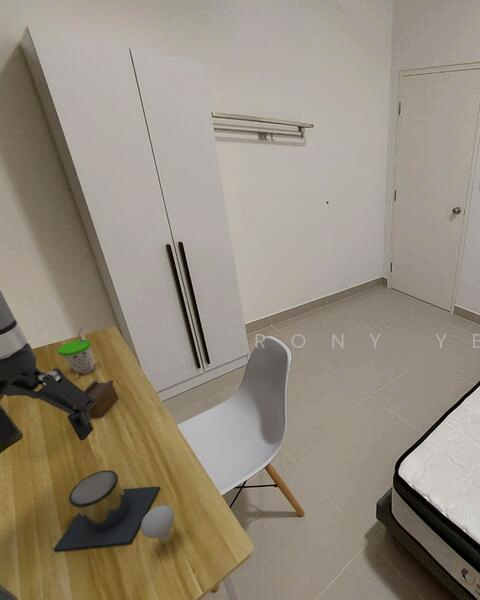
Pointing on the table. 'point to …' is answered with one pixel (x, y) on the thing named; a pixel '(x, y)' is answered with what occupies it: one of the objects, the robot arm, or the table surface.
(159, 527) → the light bulb
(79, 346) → the cup
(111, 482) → the pot
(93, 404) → the robot arm
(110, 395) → the dark brown wooden block
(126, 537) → the mat
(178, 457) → the table surface
